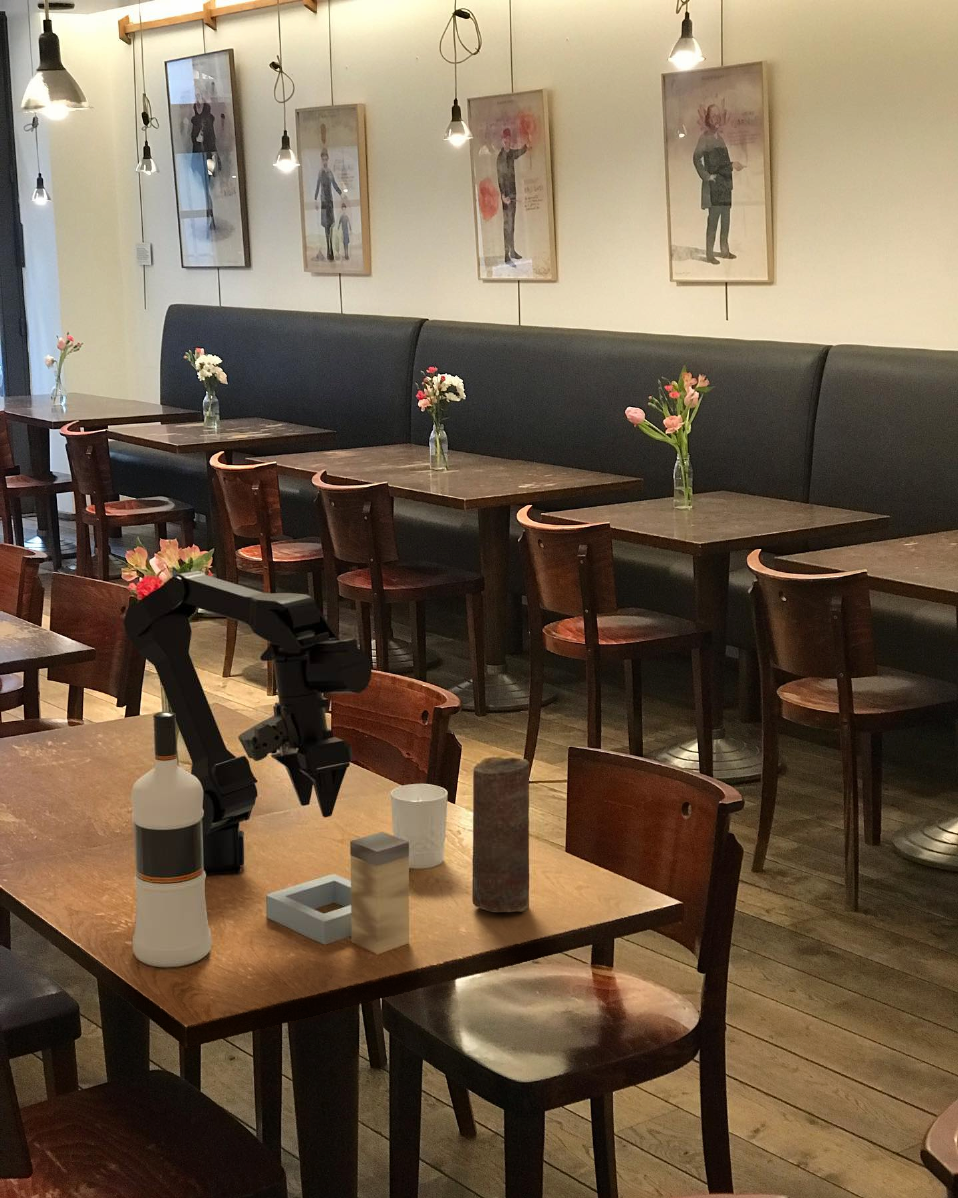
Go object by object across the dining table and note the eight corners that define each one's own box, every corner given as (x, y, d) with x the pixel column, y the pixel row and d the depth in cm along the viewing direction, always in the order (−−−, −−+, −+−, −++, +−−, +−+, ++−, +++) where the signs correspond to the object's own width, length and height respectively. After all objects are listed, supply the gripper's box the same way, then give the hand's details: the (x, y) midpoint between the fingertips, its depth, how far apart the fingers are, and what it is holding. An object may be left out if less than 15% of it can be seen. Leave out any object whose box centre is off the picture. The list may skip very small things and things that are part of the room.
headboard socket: (266, 917, 204) (265, 894, 203) (334, 895, 211) (333, 873, 211) (324, 945, 195) (324, 921, 195) (393, 921, 203) (393, 898, 202)
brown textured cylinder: (509, 925, 202) (510, 772, 198) (460, 913, 205) (460, 763, 202) (539, 906, 208) (541, 758, 204) (491, 894, 212) (492, 749, 208)
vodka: (117, 956, 191) (107, 714, 186) (176, 933, 199) (168, 698, 193) (168, 977, 186) (160, 727, 180) (227, 952, 193) (221, 711, 187)
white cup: (440, 872, 220) (440, 803, 218) (384, 868, 221) (384, 799, 219) (452, 853, 227) (453, 785, 225) (399, 849, 229) (398, 782, 227)
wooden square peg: (351, 942, 196) (350, 841, 194) (382, 931, 200) (382, 831, 197) (377, 954, 193) (376, 851, 190) (409, 943, 196) (408, 842, 194)
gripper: (221, 697, 212) (237, 811, 214) (260, 712, 195) (277, 836, 196) (301, 682, 216) (316, 795, 218) (346, 696, 199) (362, 818, 201)
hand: (316, 811), depth 208 cm, fingers open, 9 cm apart
